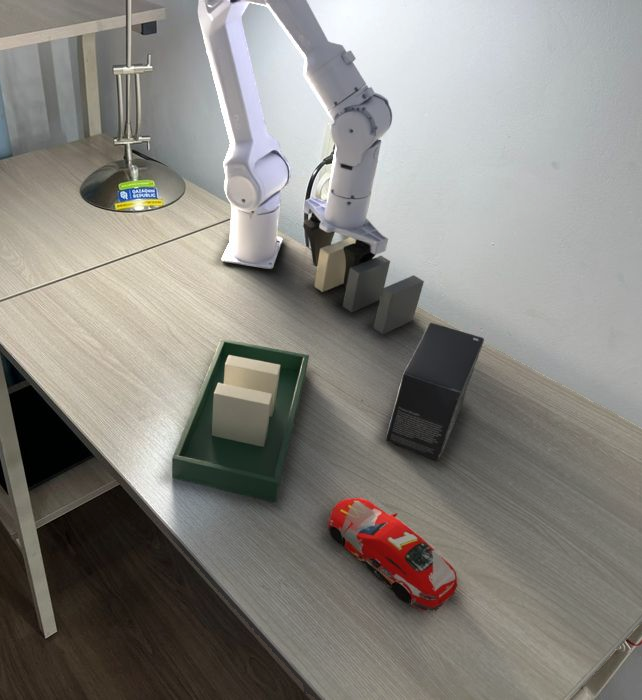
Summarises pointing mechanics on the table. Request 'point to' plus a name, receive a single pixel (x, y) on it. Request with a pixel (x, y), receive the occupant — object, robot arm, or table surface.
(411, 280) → the grey twin slabs
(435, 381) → the small box
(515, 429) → the table surface
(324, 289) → the cream square block
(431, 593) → the race car
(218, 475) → the shallow dark green tray
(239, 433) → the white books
